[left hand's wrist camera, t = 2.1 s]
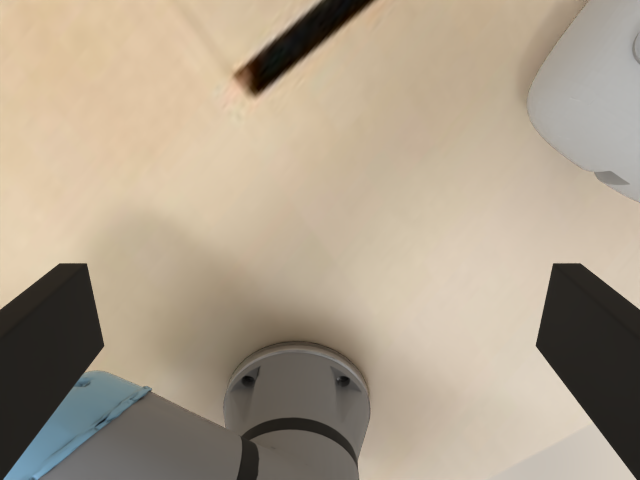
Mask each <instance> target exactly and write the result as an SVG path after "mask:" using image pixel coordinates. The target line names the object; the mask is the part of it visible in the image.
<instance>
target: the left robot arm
mask: <svg viewBox="0 0 640 480" xmlns="http://www.w3.org/2000/svg"><path fill="white" fill-rule="evenodd" d="M103 347H104V342H103V338H102V333H101V328H100V323H99V319H98V314H97V309H96V305H95V300H94V295H93V290H92V286H91V281H90V276H89V272H88V267H87V263H60V264H58V265H57V266H56V267H54V268H53V269H52V270H51V271H49V272H48V273H47V274H45V275H44V276H43V277H42V278H40V279H39V280H38V281H36V282H35V283H34V284H33V285H31V286H30V287H29V288H28V289H26V290H25V291H24V292H22V293H21V294H20V295H19V296H17V297H16V298H15V299H13V300H12V301H11V302H10V303H8V304H7V305H6V306H4V307H3V308H2V309H1V310H0V480H359V473H358V462H357V461H358V457H359V454H360V450H361V447H362V444H363V440H364V437H365V433H366V430H367V427H368V423H369V419H370V402H369V395H368V389H367V386H366V383H365V380H364V378H363V376H362V374H361V373H360V371H359V370H358V369H357V368H356V366H355V365H354V364H353V363H352V362H351V361H350V360H348V359H347V358H346V357H345V356H343V355H342V354H340V353H338V352H336V351H334V350H333V349H330V348H328V347H325V346H322V345H319V344H314V343H308V342H285V343H279V344H274V345H271V346H268V347H265V348H263V349H260V350H258V351H257V352H255V353H253V354H252V355H250V356H249V357H247V358H246V359H245V360H244V361H243V362H242V363H241V364H240V365H239V366H238V367H237V369H236V370H235V371H234V373H233V375H232V377H231V379H230V381H229V384H228V388H227V391H226V395H225V399H224V406H223V410H224V419H225V425H226V428H224V427H222V426H220V425H218V424H215V423H213V422H211V421H209V420H207V419H205V418H203V417H201V416H199V415H197V414H195V413H192V412H190V411H188V410H186V409H184V408H182V407H180V406H178V405H176V404H174V403H172V402H170V401H168V400H166V399H165V398H163V397H161V396H159V395H157V394H155V393H153V392H151V390H152V388H150V387H148V386H145V387H141V386H139V385H136V384H134V383H132V382H129V381H127V380H124V379H122V378H120V377H117V376H115V375H113V374H110V373H108V372H104V371H90V372H86V373H84V372H85V371H86V369H87V368H88V367H89V365H90V364H91V363H92V361H93V360H94V359H95V357H96V356H97V355H98V354H99V352H100V351H101V350H102V348H103ZM536 347H537V348H538V350H539V351H540V352H541V354H542V355H543V356H544V357H545V359H546V360H547V361H548V363H549V364H550V365H551V367H552V368H553V369H554V371H555V372H556V373H557V375H558V376H559V377H560V379H561V380H562V381H563V383H564V384H565V385H566V387H567V388H568V389H569V391H570V392H571V393H572V395H573V396H574V397H575V399H576V400H577V401H578V403H579V404H580V405H581V406H582V408H583V409H584V410H585V412H586V413H587V414H588V416H589V417H590V418H591V420H592V421H593V422H594V424H595V425H596V426H597V428H598V429H599V430H600V432H601V433H602V434H603V436H604V437H605V438H606V440H607V441H608V442H609V444H610V445H611V446H612V448H613V449H614V450H615V451H616V453H617V454H618V455H619V457H620V458H621V459H622V461H623V462H624V463H625V465H626V466H627V467H628V469H629V470H630V471H631V473H632V474H633V475H634V477H635V478H636V479H637V480H640V310H639V309H638V308H637V307H636V306H634V305H633V304H632V303H630V302H629V301H628V300H627V299H625V298H624V297H623V296H621V295H620V294H619V293H618V292H616V291H615V290H614V289H612V288H611V287H610V286H609V285H607V284H606V283H605V282H604V281H602V280H601V279H600V278H598V277H597V276H596V275H595V274H593V273H592V272H591V271H589V270H588V269H587V268H586V267H584V266H583V265H582V264H580V263H553V267H552V272H551V276H550V281H549V286H548V290H547V295H546V300H545V305H544V309H543V314H542V319H541V323H540V328H539V333H538V338H537V342H536Z"/></svg>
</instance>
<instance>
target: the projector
mask: <svg viewBox="0 0 640 480" xmlns="http://www.w3.org/2000/svg"><path fill="white" fill-rule="evenodd" d="M527 111H528V115H529V118H530V121H531V123H532V125H533V126H534V128H535V129H536V130H537V131H538V133H539V134H540V135H541V136H542V137H543V138H544V139H545V140H546V141H547V142H548V143H549V144H550V145H551V146H552V147H553V148H555V149H556V150H557V151H558V152H559V153H561V154H562V155H563V156H565V157H566V158H567V159H569V160H570V161H571V162H573V163H574V164H576V165H577V166H579V167H580V168H582V169H584V170H587V171H591V172H594V174H595V176H596V177H597V179H599V180H600V181H601V182H603V183H604V184H606V185H607V186H609V187H611V188H612V189H614V190H616V191H617V192H619V193H621V194H623V195H624V196H626V197H628V198H631V199H633V200H635V201H637V202H640V0H589V1H588V3H587V4H586V5H585V6H584V8H583V9H582V10H581V11H580V13H579V14H578V15H577V16H576V18H575V19H574V20H573V22H572V23H571V24H570V26H569V27H568V28H567V30H566V31H565V32H564V34H563V35H562V36H561V38H560V39H559V40H558V42H557V43H556V45H555V46H554V48H553V49H552V50H551V52H550V53H549V55H548V56H547V58H546V59H545V61H544V63H543V64H542V66H541V67H540V69H539V71H538V73H537V74H536V76H535V78H534V80H533V82H532V85H531V87H530V90H529V93H528V97H527Z"/></svg>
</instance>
